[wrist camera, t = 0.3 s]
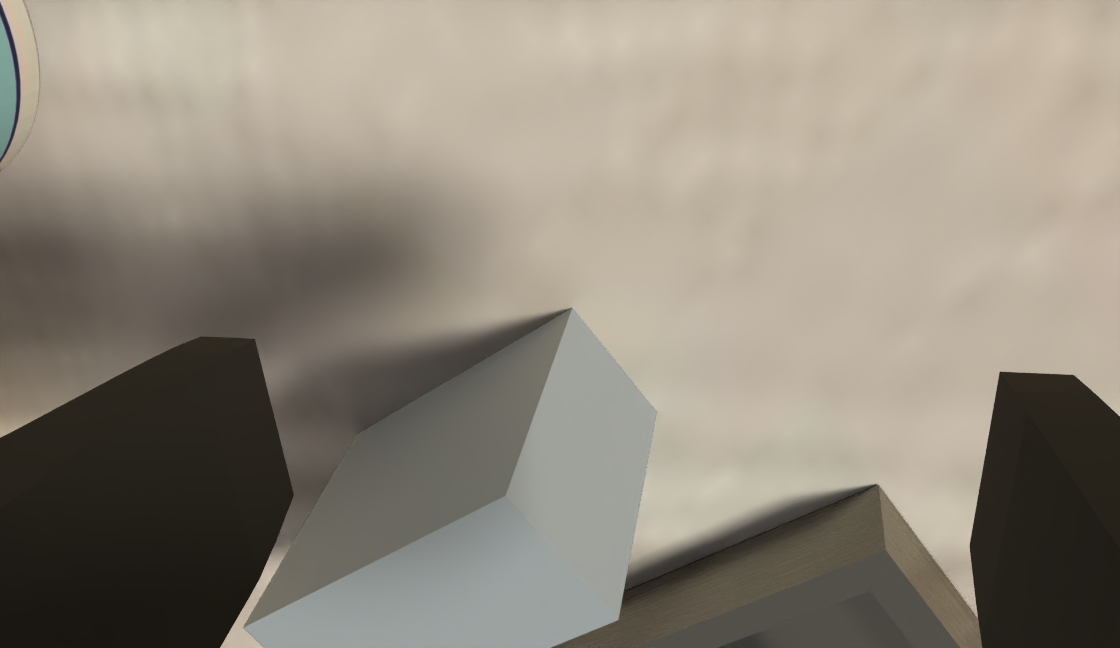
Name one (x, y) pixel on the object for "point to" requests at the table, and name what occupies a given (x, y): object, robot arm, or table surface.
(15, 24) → the beverage can
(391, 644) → the block
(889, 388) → the table surface
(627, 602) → the rack
